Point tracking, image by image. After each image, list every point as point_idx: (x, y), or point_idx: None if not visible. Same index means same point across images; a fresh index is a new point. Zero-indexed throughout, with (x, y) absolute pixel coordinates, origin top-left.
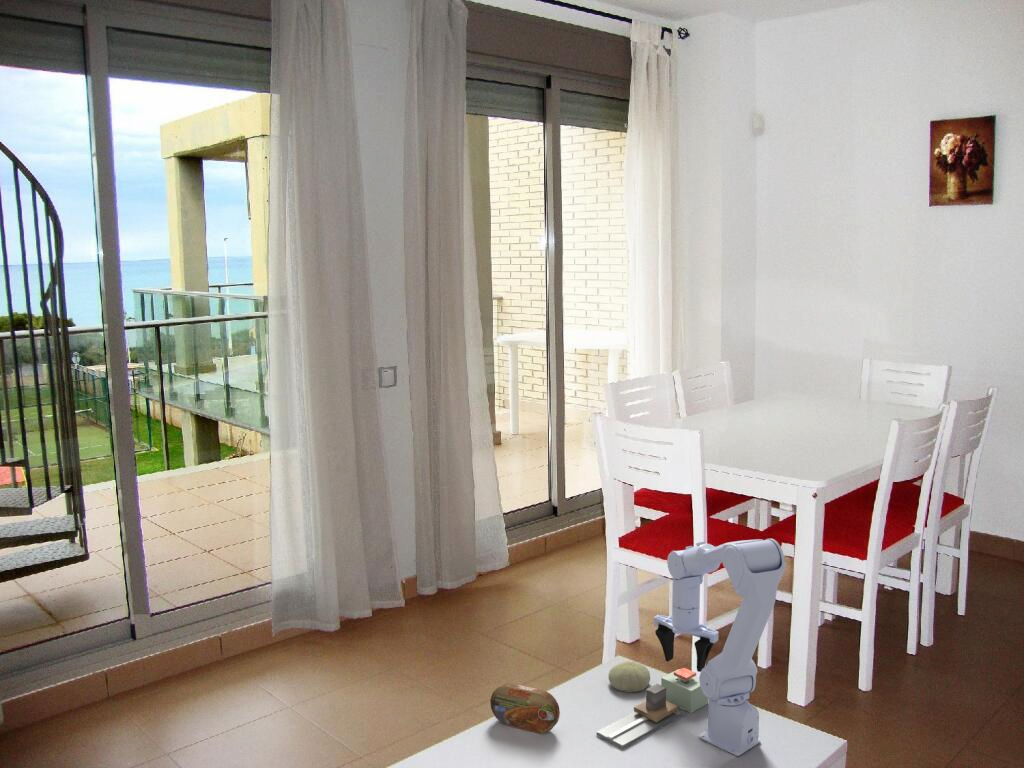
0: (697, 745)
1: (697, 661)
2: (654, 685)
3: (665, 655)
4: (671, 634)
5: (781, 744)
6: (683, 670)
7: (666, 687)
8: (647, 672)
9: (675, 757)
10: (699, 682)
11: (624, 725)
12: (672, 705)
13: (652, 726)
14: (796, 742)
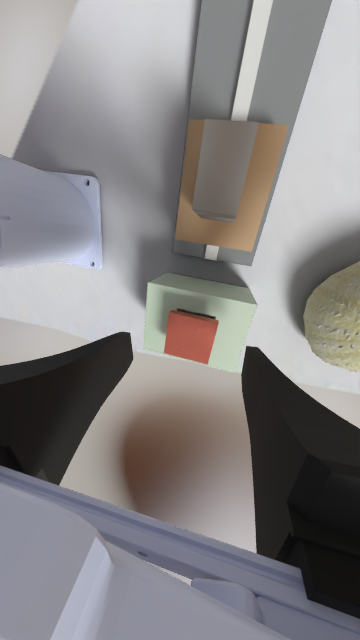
0: (84, 146)
1: (99, 344)
2: (239, 192)
3: (261, 357)
4: (264, 487)
5: (14, 269)
6: (199, 349)
7: (235, 294)
8: (322, 343)
9: (79, 25)
10: (156, 334)
11: (282, 18)
12: (187, 231)
13: (197, 111)
14: (9, 289)
